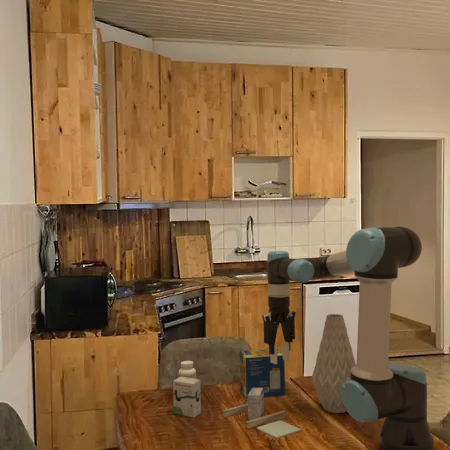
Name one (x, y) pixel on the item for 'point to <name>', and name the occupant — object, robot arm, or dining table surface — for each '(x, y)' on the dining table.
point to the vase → (333, 364)
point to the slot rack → (258, 420)
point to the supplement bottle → (187, 370)
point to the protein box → (262, 373)
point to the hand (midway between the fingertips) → (280, 361)
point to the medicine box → (255, 403)
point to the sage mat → (278, 429)
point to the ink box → (187, 396)
